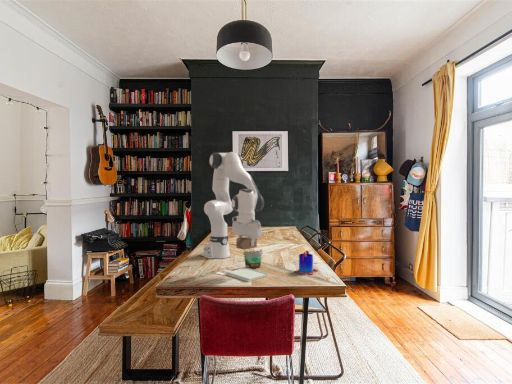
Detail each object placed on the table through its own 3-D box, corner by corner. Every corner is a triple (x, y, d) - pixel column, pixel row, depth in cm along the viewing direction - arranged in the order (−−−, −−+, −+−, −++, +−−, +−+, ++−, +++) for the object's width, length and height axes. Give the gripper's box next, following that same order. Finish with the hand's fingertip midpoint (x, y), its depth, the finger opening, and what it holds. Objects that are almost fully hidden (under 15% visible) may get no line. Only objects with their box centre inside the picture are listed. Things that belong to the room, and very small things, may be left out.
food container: (247, 270, 178) (247, 253, 178) (243, 267, 184) (243, 251, 183) (266, 267, 184) (266, 250, 184) (261, 265, 189) (261, 249, 189)
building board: (226, 274, 170) (226, 271, 170) (245, 269, 179) (245, 267, 179) (248, 281, 157) (248, 279, 157) (267, 276, 167) (267, 273, 167)
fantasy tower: (312, 275, 168) (312, 253, 167) (292, 272, 173) (292, 251, 173) (319, 270, 178) (319, 249, 178) (299, 267, 184) (299, 247, 183)
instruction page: (214, 273, 172) (214, 272, 172) (225, 269, 179) (225, 269, 179) (223, 275, 169) (223, 274, 169) (233, 271, 176) (233, 270, 176)
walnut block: (236, 247, 167) (236, 238, 167) (248, 245, 173) (248, 236, 173) (244, 249, 162) (244, 240, 162) (256, 247, 169) (256, 237, 168)
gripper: (264, 220, 162) (264, 246, 163) (238, 217, 177) (238, 241, 177) (256, 221, 158) (256, 248, 158) (230, 217, 172) (230, 242, 173)
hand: (246, 244), depth 168 cm, fingers closed on walnut block, 6 cm apart
